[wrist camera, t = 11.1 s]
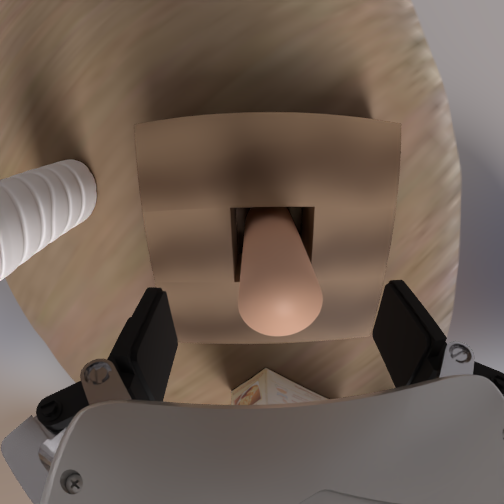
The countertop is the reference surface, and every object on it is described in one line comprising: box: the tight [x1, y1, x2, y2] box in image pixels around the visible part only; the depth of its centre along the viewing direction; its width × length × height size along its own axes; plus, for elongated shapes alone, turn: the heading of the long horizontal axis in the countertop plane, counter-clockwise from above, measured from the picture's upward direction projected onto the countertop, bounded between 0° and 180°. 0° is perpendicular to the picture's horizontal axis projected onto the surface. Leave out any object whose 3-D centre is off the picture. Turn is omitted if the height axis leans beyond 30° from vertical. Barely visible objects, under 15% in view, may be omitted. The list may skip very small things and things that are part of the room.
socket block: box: [134, 112, 401, 344], centre depth 21 cm, size 18×18×5 cm
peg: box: [238, 207, 323, 336], centre depth 18 cm, size 4×4×12 cm
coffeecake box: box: [231, 368, 329, 405], centre depth 25 cm, size 15×7×20 cm, turn 50°
